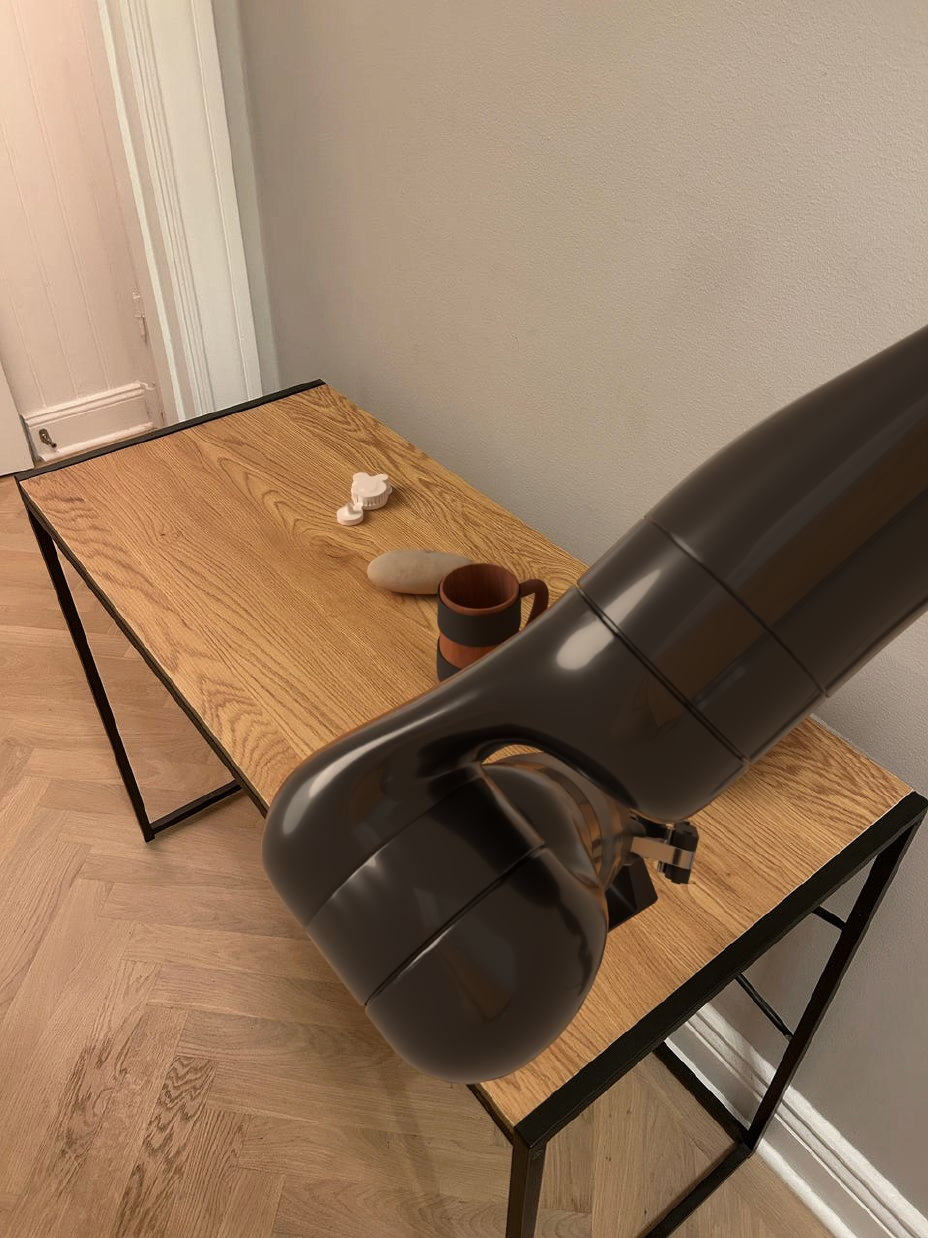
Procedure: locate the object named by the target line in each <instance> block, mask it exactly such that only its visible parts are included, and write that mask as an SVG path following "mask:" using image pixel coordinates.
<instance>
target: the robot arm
mask: <svg viewBox="0 0 928 1238" xmlns="http://www.w3.org/2000/svg"><path fill="white" fill-rule="evenodd" d="M576 585H577V586H576ZM576 585H570V586H569V588H568V589H566V590H565V591H564V592H563V593H562V594H561V595H560V596H558V598H557V599H556V600H555V601H554V602H552V603H551V605H549V606H548V608H547V609H546V610H545V611H544V612H543V613H541V614H540V615H539V616H538V617H537V618H536V619H534V620H533V621H532V622H531V623H529V624H528V625H527V626H526V627H524V626H523V628H522V629H521V630H520V629H519V632H518V633H516V634H515V635H514V636H512V637H511V638H509V639H508V640H506V641H505V642H503V643H502V644H501V645H499V646H498V647H496V648H495V649H493V650H492V651H490V652H489V653H487V654H486V655H484V656H483V657H481V658H480V659H478V660H476V661H475V662H473V663H472V664H470V665H468V666H467V667H465V668H464V669H462V670H460V671H459V672H457V673H456V674H454V675H452V676H451V677H449V678H448V679H446V680H444V681H443V682H441V683H440V682H439V683H437V684H435V685H434V686H432V687H430V688H428V689H426V690H425V691H423V692H420V693H419V694H418V695H416V696H414V697H412V698H410V699H408V700H406V701H405V702H402V703H400V704H398V705H396V706H394V707H392V708H390V709H388V710H386V711H385V712H382V713H381V714H378V715H377V716H375V717H372V718H371V719H369V720H367V721H365V722H363V723H360V724H359V725H357V726H355V727H353V728H351V729H349V730H347V731H346V732H343V733H342V734H341V735H339V736H337V737H335V738H334V739H332V740H331V741H329V742H328V743H325V744H324V745H322V746H321V747H319V748H318V749H316V750H314V751H313V752H312V753H311V754H309V755H308V756H307V757H305V758H304V759H303V760H302V761H301V762H299V764H298V765H297V766H296V767H294V768H293V770H291V772H290V773H289V774H288V775H287V776H286V777H285V779H284V780H283V782H282V783H281V784H280V786H279V788H278V789H277V791H276V792H275V794H274V796H273V798H272V800H271V803H270V804H269V807H268V810H267V812H266V815H265V818H264V822H263V825H262V831H261V836H260V862H261V866H262V870H263V872H264V875H265V877H266V878H267V880H268V882H269V885H270V886H271V888H272V890H273V891H274V893H275V894H276V896H277V897H278V898H279V900H280V901H281V902H282V904H283V905H284V907H285V909H287V911H288V912H289V914H290V915H291V916H292V917H293V919H294V920H295V922H296V923H297V924H298V925H299V927H300V928H301V929H302V930H303V931H304V932H305V933H306V936H307V937H308V939H309V940H310V941H311V943H312V944H313V946H315V948H316V949H317V950H318V952H319V953H320V955H321V956H322V957H323V959H324V960H325V962H327V964H328V965H329V967H330V968H331V969H332V970H333V972H334V973H335V975H336V976H337V977H338V979H339V980H340V981H341V983H342V984H343V985H344V986H345V988H346V989H347V991H348V992H349V994H350V995H351V996H352V997H353V999H354V1000H355V1001H356V1002H357V1004H358V1005H359V1006H360V1007H365V1009H364V1014H365V1015H366V1016H367V1018H368V1019H369V1020H370V1022H371V1023H372V1024H373V1026H374V1027H375V1028H376V1030H377V1031H378V1032H379V1034H380V1036H381V1037H382V1038H383V1039H384V1041H385V1042H386V1043H387V1044H388V1046H390V1048H391V1049H392V1050H393V1051H394V1053H395V1054H397V1056H398V1057H399V1058H401V1059H402V1061H404V1062H405V1064H407V1065H409V1066H410V1067H412V1068H413V1069H414V1070H415V1071H416V1072H418V1073H420V1074H422V1075H424V1076H427V1077H429V1078H431V1079H434V1080H436V1081H440V1082H444V1083H447V1084H459V1085H476V1084H480V1083H486V1082H491V1081H495V1080H498V1079H499V1080H500V1079H502V1078H504V1077H506V1076H507V1077H508V1076H509V1075H511V1074H513V1073H515V1072H516V1071H519V1070H520V1069H522V1068H524V1067H525V1066H527V1065H528V1064H530V1063H532V1062H533V1061H534V1060H536V1059H537V1058H538V1057H540V1055H542V1053H544V1052H545V1051H546V1050H547V1049H548V1048H549V1047H551V1046H552V1045H553V1044H554V1042H555V1041H556V1040H558V1039H559V1037H560V1036H561V1035H562V1034H563V1033H564V1032H565V1031H566V1029H567V1028H568V1027H569V1025H571V1023H572V1021H574V1019H575V1017H577V1014H578V1013H579V1011H581V1008H582V1006H583V1004H584V1003H585V1001H586V999H587V998H588V996H589V993H590V992H591V990H592V988H593V986H594V983H595V981H596V978H597V975H598V972H599V971H600V968H601V965H602V963H603V960H604V959H603V958H604V954H605V951H606V945H607V940H608V934H609V933H608V920H609V919H608V909H607V901H606V896H605V893H604V892H605V891H606V890H607V889H608V888H609V887H610V885H611V883H612V881H613V880H614V878H615V876H616V875H617V874H618V872H619V871H620V869H621V868H622V866H623V865H627V866H630V865H632V864H633V863H635V862H637V861H638V860H639V859H640V857H641V858H643V859H644V860H645V859H646V860H649V859H650V860H655V861H658V862H657V866H656V872H657V873H660V874H664V878H666V879H667V880H669V881H670V882H671V883H672V884H676V885H679V886H680V885H681V884H683V885H689V883H690V878H691V873H692V869H693V865H694V861H695V857H696V852H697V849H698V845H699V840H700V835H699V831H698V828H697V826H696V825H693V824H691V821H688V819H690V818H692V817H694V816H695V815H696V814H698V813H700V812H702V810H704V809H706V808H707V807H708V806H710V805H711V804H712V803H713V802H714V801H715V800H717V799H718V798H719V797H720V796H722V794H724V793H725V792H726V791H727V790H728V789H730V787H732V786H733V785H734V784H735V783H736V782H737V781H738V780H740V778H742V777H743V776H744V775H745V774H747V772H748V771H750V769H751V766H750V764H751V765H752V764H753V765H756V764H758V762H759V761H761V759H762V758H764V757H765V756H766V755H767V754H768V753H769V752H770V751H772V750H773V749H774V748H775V747H776V746H777V745H778V744H779V743H780V742H782V741H783V740H784V739H785V738H786V737H787V736H788V735H790V733H792V732H793V731H794V730H795V729H796V728H797V727H798V726H800V724H802V723H803V722H804V721H805V720H806V719H807V718H809V716H810V715H812V714H813V713H814V712H815V711H816V710H817V709H818V708H819V707H820V706H822V705H823V704H824V703H825V702H826V701H827V699H831V697H832V696H833V695H834V694H835V693H837V691H839V690H840V689H841V688H842V687H843V686H844V685H845V684H846V683H847V682H849V680H850V679H852V678H853V677H854V676H855V675H856V674H857V673H858V672H859V671H860V670H862V668H864V667H865V666H866V665H867V664H868V663H869V662H871V660H873V659H874V658H876V656H877V655H878V654H880V652H881V651H883V650H884V649H885V648H886V647H887V646H888V645H890V643H892V642H893V641H894V640H895V639H897V638H898V637H899V636H900V635H901V634H903V633H904V632H905V631H906V630H907V629H908V628H909V627H911V626H912V625H913V624H914V623H916V622H917V620H919V619H920V618H921V617H922V616H923V615H925V614H926V613H927V612H928V323H927V324H925V325H924V326H922V327H920V328H919V329H917V330H915V331H913V332H911V333H910V334H908V335H906V336H905V337H903V338H901V339H899V340H898V341H896V342H894V343H893V344H891V345H889V346H887V347H885V348H884V349H882V350H880V351H879V352H877V353H875V354H873V355H872V356H869V357H868V358H866V359H865V360H863V361H861V362H859V363H857V364H856V365H854V366H852V367H850V368H849V369H847V370H845V371H843V372H841V373H839V374H837V375H836V376H835V377H833V378H830V379H829V380H828V381H826V382H824V383H821V384H820V385H818V386H816V387H815V388H813V389H812V390H810V391H808V392H806V393H804V394H802V395H800V396H798V397H797V398H796V399H794V400H792V401H791V402H789V403H787V404H785V405H784V406H783V407H780V408H779V409H778V410H776V411H774V412H773V413H771V414H769V415H768V416H766V417H765V418H763V419H762V420H760V421H759V422H757V423H755V424H754V425H752V426H751V427H749V428H748V429H746V430H745V431H743V432H742V433H741V434H739V435H738V436H736V437H735V438H734V439H732V440H731V441H730V442H728V443H726V445H724V446H722V447H721V448H720V449H719V450H717V451H716V452H715V453H713V454H712V455H711V456H710V457H708V458H707V459H706V460H705V461H703V462H702V463H701V464H700V465H698V466H697V467H696V468H695V469H693V470H692V471H691V472H690V473H689V474H688V475H687V476H686V477H684V478H683V479H682V480H681V481H680V482H679V483H677V484H676V485H675V486H674V487H673V488H672V489H671V490H669V491H668V492H667V493H666V494H664V496H663V497H662V498H661V499H660V500H659V501H658V502H656V503H655V504H654V505H653V507H651V508H650V509H649V510H648V511H647V512H646V513H645V514H644V515H643V518H640V519H639V520H637V521H636V522H635V523H634V524H633V526H632V527H630V528H629V529H628V530H627V531H626V532H625V533H624V534H623V535H622V536H621V537H620V538H619V539H618V540H617V541H616V542H615V543H614V544H613V545H612V546H611V547H610V548H609V549H607V551H606V552H605V553H604V554H602V555H601V557H599V559H597V560H596V561H595V562H594V563H593V564H592V565H591V566H590V567H589V568H588V569H587V570H586V571H584V573H583V574H582V575H581V576H580V577H579V578H577V580H576ZM511 746H524V747H529V748H533V749H536V750H538V751H539V752H526V753H525V752H524V753H519V754H511V755H509V756H505V757H502V758H499V759H497V760H495V761H492V762H486V760H488V758H490V757H491V756H492V755H495V753H497V752H499V751H501V750H503V749H505V748H507V747H511ZM484 762H486V763H484ZM749 763H750V764H749ZM670 824H673V826H670Z"/></svg>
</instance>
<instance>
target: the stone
mask: <svg viewBox="0 0 928 1238" xmlns="http://www.w3.org/2000/svg"><path fill="white" fill-rule="evenodd" d="M472 563H475V562H474V561H473V560H472V559H471V558H469V557H466V556H464V555H460V554H457V553H452V552H446V551H439V550H431V549H416V548H415V549H414V548H402V549H401V548H400V549H392V550H388V551H386V552H384V553H382V554H380V555H379V556H377V557H375V558H374V559H372V560H371V562H370V563H369V564H368V566H367V569H366V574H367V577H368V579H369V580H370V582H372V584H373V585H375V586H377V587H378V588H381V589H384V590H387V591H390V592H391V591H392V592H395V593H402V594H413V595H434V594H435V595H437V589H438V585H439V583H440V582H441V580H442V579H443V578H444V576H445V575H446V574H447V573H449V572H450V571H452V570H453V569H455V568H457V567H460V566H463V565H466V564H472Z"/></svg>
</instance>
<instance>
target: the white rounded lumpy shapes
mask: <svg viewBox="0 0 928 1238" xmlns="http://www.w3.org/2000/svg"><path fill="white" fill-rule="evenodd" d="M392 474H393V473H390V475H392ZM352 479H353V480H352V481H353V482H352V483H351V488H350V492H351V496H350V497H351V501H352V502H353V503H352V502H346V503H345V505H344V506H342V507H340V508H339V509H338V510H337V511H336V521H337V522H338V523H339V524H340V525H343V526H348V527H349V526H355V525H358V524H361V522H362V521H363V520H364V510H365V511H366V510H367V511H372V510H373V511H374V510H377V509H380V508H382V507H384V506H385V505H386V504H387V502H388V499H389V497H390V496H389V495H391V494H392V492H393V487H392V486H391V483H390V482H389V475H387V474H386V473H378V474H376V475H369V474H368V473H367V472H364V471H363V472H361V471H360V472H356V473H354V474H353V476H352ZM353 504H354V505H353Z"/></svg>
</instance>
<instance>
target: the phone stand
mask: <svg viewBox="0 0 928 1238" xmlns="http://www.w3.org/2000/svg"><path fill="white" fill-rule="evenodd" d="M654 885H655V884H654V883H653V880H652V878H651V876H650V872H649V870H648V867H647V865H646V862H645V858H641V857H640V859H639V860H638V861H637V862H635V863H633V864H632V865H630V866H627V865H623V866H622V868H621V869H620V871H619V872H618V874H617V875H616V876H615V878H614V880H613V881H612V883H611V885H610V887H609V888H608V889H607V890H606V891H605V892H604V893H605V896H606V901H607V909H608V919H609V920H608V934H609V933H611V932H612V931H613V930H616V929H617V928H618V927H620V926H621V925H623V924H625V923H626V922H628V921H630V920H631V919H633V918H634V917H635V916H637V915H639V914H640V913H642V912H643V911H645V910H647V909H648V908H650V907H651V906H653V905H654V904H655V903H656V902H657V901H658V900H659V896H658V893H657V890H656V887H655V886H654Z"/></svg>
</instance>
